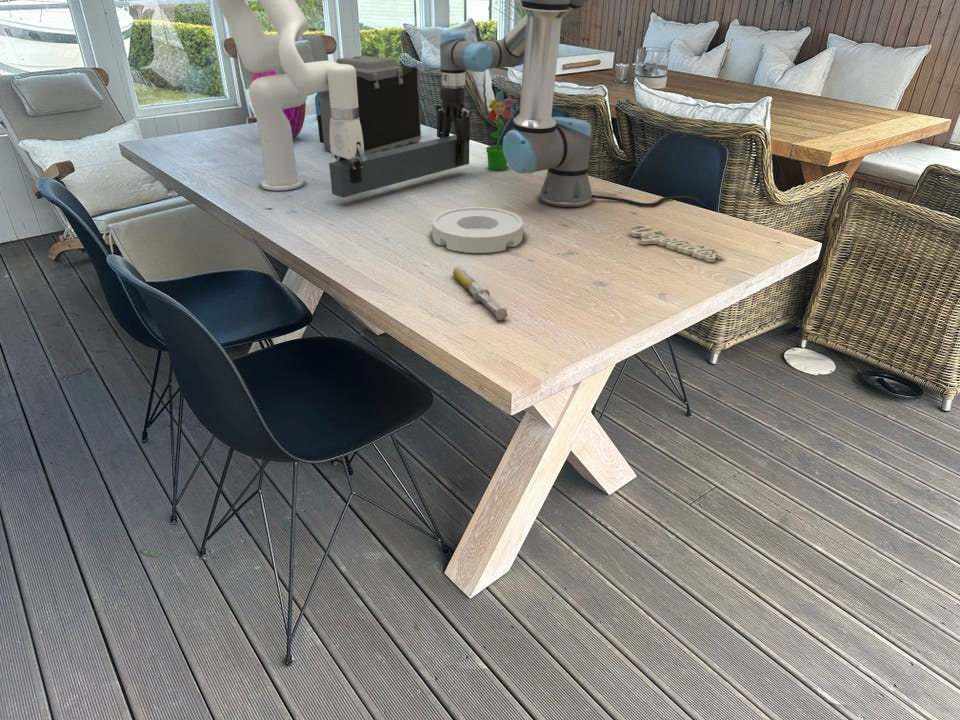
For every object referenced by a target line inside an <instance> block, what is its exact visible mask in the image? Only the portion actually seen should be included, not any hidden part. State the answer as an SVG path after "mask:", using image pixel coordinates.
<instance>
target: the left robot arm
mask: <svg viewBox="0 0 960 720" xmlns="http://www.w3.org/2000/svg"><path fill="white" fill-rule="evenodd" d="M305 1H306V0H258V2H259V5H260V6H261V7H262V9H263V12H265V14H266V16H267V17H268V20H269V21H270V22H271V24H272V26H273V27H274V29H275V31H276V32H277V34H266V33H265V32H264V30H263V28H262V25H261V22H260V19H259V17H258V15H257V14H256V12H254V10H253V9H252V8H251V7H250V6H249V5H248V4H247V3H246V2H245V0H215V2H216V4H217V6H218V9H219V11H220V12H221V14H222V16H223V17H224V19H225V21H226V23H227V25H228V27H229V30H230V33H231V36H232V38H233V41H234V44H235V46H236V50H237V51H238V54H239V57H240V60H241V62H242V64H243V66H244V68H245V70H247V71H249V72H250V73H252V74H253V73H261V72H268V71H276V73H277V75H271V76H264V77H260V78H258V79H256V80H254V81H253V82H252V81H251V84H250V85H249V87H248V89H249V90H248V94H249V95H248V96H249V99H250V102H251V105H252V108H253V111H254V114H255V119H256V123H257V129H258V135H259V143H260V149H261V156H262V164H263V173H264V176H265V179H263V180H262V181H261V183H260V184H261V188H262V189H264V190H267V191H276V192H279V191H280V192H281V191H291V190H295V189H298V188H301V187H302V186H303V185H304V180H303V178H301V177H299V176H298V171H297V161H296V154H295V145H294V138H293V137H292V130H291V125H290V122H289V120H288V119H287V117H286V116H285V114H284V113H283V110H284V109H287V108H292V107H297V106H300V105H302V104H304V103H305V101H306V102H307V99H308V94H309V95H310V94H317V92H322V91H329V97H330V108H331V118H330V150H331V151H330V150H329V151H330V153H331V154H332V155H333V156H334V158H335V160H336V161H335V162H337V161H341V160H346V159H350V162H351V166H352V169H351V182H352V183H353V184H354V183H358V182H361V181H362V177H361V168H362V165H363V163H364V162H365V161H366V156H365V154H364V143H363V135H362V129H361V124H360V120H359V107H358V93H357V79H356V70H355V68H354V67H353V66H352V65H348V64H338V63H336V61H333V60H319V61H318V60H317V61H311V62H304V60H303V58H302V57H301V55H300V53H299V51H298V49H297V46H296V41H297V40H298V39H299V38H300V37H301V36H302V35H303V34H304V33H305V32H306V31H307V29H308V23H309V22H308V20H307V18H306V16H305V14H304V13H303V11H302V10H301V8H300V6H301V5H302V4H304V2H305ZM355 159H356V160H357V161H356V163H355V162H354V160H355Z"/></svg>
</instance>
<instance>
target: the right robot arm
mask: <svg viewBox="0 0 960 720" xmlns="http://www.w3.org/2000/svg"><path fill="white" fill-rule="evenodd" d="M588 1H589V0H521V9H522V10H523V12H525V15H524V16H523V17H522V19H521V20H519V22H517V24H516V25H514V26H513V28H512V29H511V30H510V31H509V32H507V34H506V35H505V36H503V38H502V39H497V40H495V39H494V40H482V41H481V40H480V41H469V40H467V39H466V38H467V37H466V33H465V32H464V31H462V30H443V31H442V32H441V33H440V44H439V55H440V56H439V57H440V58H439V60H440V61H439V62H440V85H441V87H440V100H442V103H441V104H437V105H435V112H436V136H437V139H439V138H443V137H448V136H451V135H450V134H451V129H452V122H453V124H454V125H453V126H454V130H455V135H456V137H457V143H456V165H461V164H463V154H464V145H465V143H469V144H470V141H471V140H470V139H471V137H470V135H471V134H470V133H471V126H470V125H471V124H470V123H471V122H470V121H471V119H470V118H471V116H472V111H471V110H470V109H469V110H467V109H466V108H465V105H464V104H465V103H464V102H465V99H466V88H465V87H464V86H466V70H468V71H471V72H473V73H476V72H477V73H483V72H485V71H487V70H490V69H491V70H492V69H501V68H502V69H503V68H516V67H521V66H522V76H521V77H522V78H521V90H520V102H519V113H518V114H517V116H515V117H514V118H513V120H512V129H510V130H508V131H507V132H506V133H505V135H504V136H503V138H502V146H503V153H504V157H505V159H506V161H507V166H508V167H510V169H511V170H512V171H514V172H515V173H517V174H533V173H537V172H542V171H546V170H547V173H546V176H545V178H544V181H543V184H542V187H541V189H540V192H539V200H540V202H542V203H543V204H546V205H549V206H553V207H558V208H559V207H560V208H580V207H584V206H588V205H589V204H591V203H592V199H598V200H599V199H601V200H608V201H617V202H623V203H628V204H632V205H636V206H640V207H655V206H657V205H659V204H661V203H662V202H664V201H669V200H691V201H693V202H695V203H697V204H698V205H699V206H700V207H703V206H704V204H703V202H702V201H701V200H700V199H698V198H697V197H694V196H690V195H675V196H673V195H672V196H664V197H662V198H660V199H658V200H657V201H654V202H640V201H635V200H631V199H628V198H627V199H626V198H623V197H622V198H621V197H616V196H615V197H614V196H607V195H598V194H593V193H592V188H591V184H590V179H589V165H590V153H591V144H592V138H593V136H592V125H591V124H590V123H589V122H588V121H586V120H583V119H579V118H574V117H573V118H571V117H566V116H552V115H553V103H554V95H555V94H554V93H555V87H556V86H555V85H556V75H557V67H558V56H559V46H560V37H561V27H562V26H561V25H562V20H563V19H564V18H565V17H566V16H567V15H568V14H570V12H572V10H579V9H580V8H581V7H582V6H584V5H585V4H586V3H587V2H588Z"/></svg>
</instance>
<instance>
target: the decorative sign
mask: <svg viewBox="0 0 960 720" xmlns="http://www.w3.org/2000/svg"><path fill="white" fill-rule="evenodd" d="M650 229H651V227H650V226H648V225H644V224H637V225H636V229H632V230H631V231H630V236H631V237H634V238H640V245H643V246H644V245H646V246H647V245H658V246H660V247H666V248H667V249H669V250H671V251H677V252H678V253H682V254H685V255H691V256H692V257H693V258H697V259H699V260H704V261H705V262H709V263H714V262H716V260H719V261H720V260H721V259H722V254H721V253H718V252H715V250H716V249H715V248H714V247H705V245H706V244H700V243H699V244H690V243H689V241H688V240H686V239H682V238H681V239H680V238H677V237H673V238H671V237H667V236H663V235H662V234H663V230H662V229H652V230H650Z"/></svg>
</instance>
